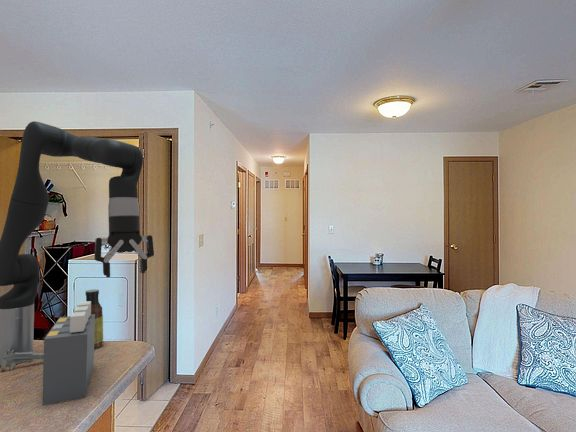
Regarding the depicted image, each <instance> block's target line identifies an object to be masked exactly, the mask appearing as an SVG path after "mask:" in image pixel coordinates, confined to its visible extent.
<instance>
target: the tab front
mask: <svg viewBox="0 0 576 432" xmlns="http://www.w3.org/2000/svg"><path fill="white" fill-rule="evenodd" d="M69 316H70V333H72V332H81V331H84V329H85V327H86V312H75V313H74V312H72V313H71V314H70V315H69Z"/></svg>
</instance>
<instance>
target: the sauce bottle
mask: <svg viewBox="0 0 576 432" xmlns="http://www.w3.org/2000/svg"><path fill="white" fill-rule="evenodd" d="M84 294H85V296H86V297H85V299H86V301H91V314H95V335H94V350H95V349H98V348H100V347H102V346H103V344H104V318H103V317H104V315H103V306H102V305H101V304H100V302H99V301H100V300H99V294H100V289H94V288H93V289H88V290H85V293H84Z"/></svg>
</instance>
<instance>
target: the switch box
mask: <svg viewBox="0 0 576 432" xmlns="http://www.w3.org/2000/svg"><path fill="white" fill-rule="evenodd" d="M70 316H71V315H69V316H59V318H57V320H56V322H55V323H54V324H53V326H52V327H51V329H50V330H49V332H48V333H47V334H46V336H45V337H44V339H43V353H44V359H43V362H42V363H43V369H42V370H43V372H42V404H41V405H42V406H46V405H51V404H56V403H62V402H67V401H74V400H78V399H84V398H86V397H87V394H88V390H89V386H90V382H91V378H92V374H93V371H94V366H95V364H94V363H95V349H94V335H95V314H91V315H90V317H89V318H88V322H87V324H86V327H85V329H84V331H81V332H72V333H70Z"/></svg>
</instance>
